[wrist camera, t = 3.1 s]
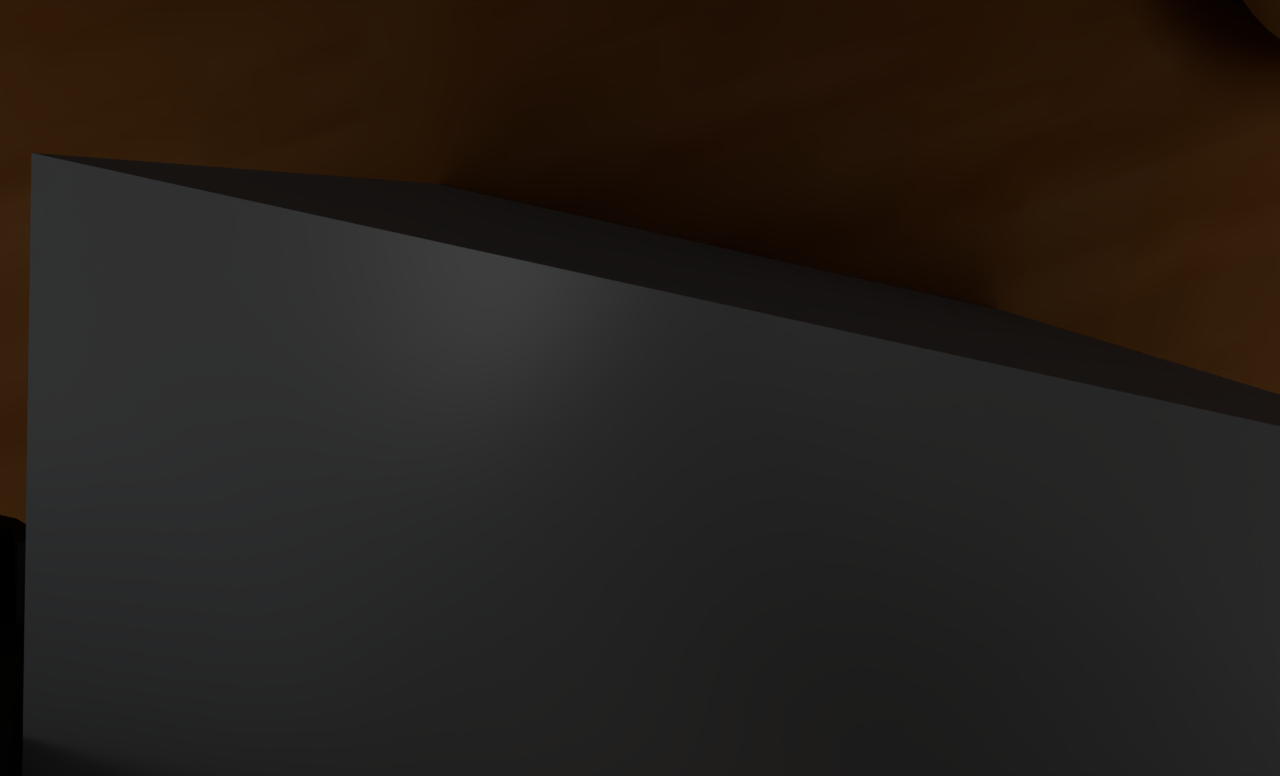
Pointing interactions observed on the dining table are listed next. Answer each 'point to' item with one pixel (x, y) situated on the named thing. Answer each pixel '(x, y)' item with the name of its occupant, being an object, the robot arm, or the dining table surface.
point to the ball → (1266, 13)
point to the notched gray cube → (604, 505)
